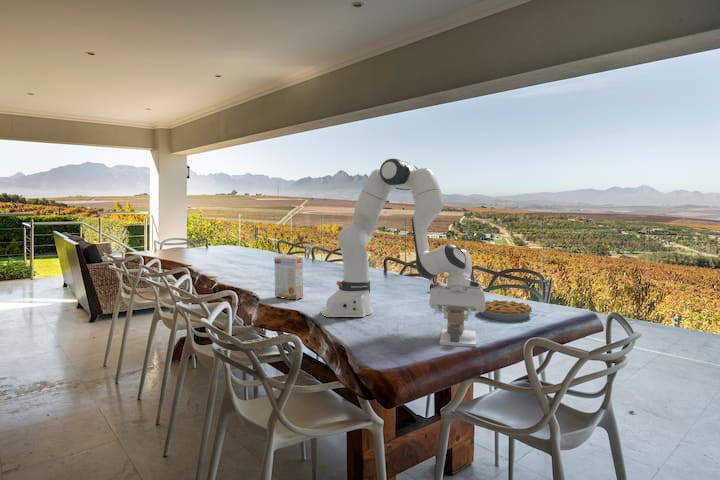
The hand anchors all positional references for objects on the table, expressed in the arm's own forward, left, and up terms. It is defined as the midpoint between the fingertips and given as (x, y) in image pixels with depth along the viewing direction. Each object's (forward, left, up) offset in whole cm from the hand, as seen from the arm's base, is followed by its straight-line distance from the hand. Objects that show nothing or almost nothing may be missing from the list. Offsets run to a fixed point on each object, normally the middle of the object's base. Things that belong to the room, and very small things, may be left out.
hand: (455, 319), depth 163 cm
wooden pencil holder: (-1, -2, -4) cm, 5 cm away
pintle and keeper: (-2, -4, -6) cm, 8 cm away
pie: (+33, +23, -7) cm, 41 cm away
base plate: (-1, -3, -6) cm, 7 cm away
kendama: (+29, +71, -7) cm, 77 cm away
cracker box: (-53, +81, -6) cm, 97 cm away
